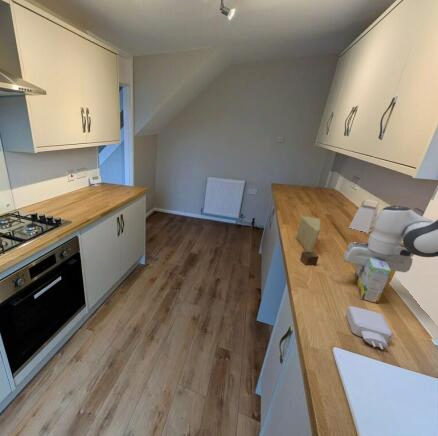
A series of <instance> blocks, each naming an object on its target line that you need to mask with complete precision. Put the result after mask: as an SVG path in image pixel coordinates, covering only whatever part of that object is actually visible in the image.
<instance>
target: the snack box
mask: <svg viewBox="0 0 438 436" xmlns="http://www.w3.org/2000/svg"><path fill="white" fill-rule="evenodd" d="M355 268H356V267H355ZM359 268H360V269H361V270H362V271H363V272H362V274H357V273H356V270H355V271H354V276H355V281H356V285H357V289H358V292H359V296H360V299H361V300H363V301H367V302H370V303H374V304H378V303H379V302H380V298H381V297H382V293H383V292H384V289H385V287H386V284H387V283H388V280H389V278H390V275H391V273H392V272H391V270H390V268H389V266H388V264H387V262H386V260H384V259H379V258H369V260H368V262H367V264H366V266H363V265H361V267H359ZM356 269H357V268H356Z"/></svg>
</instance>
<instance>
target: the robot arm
mask: <svg viewBox="0 0 438 436" xmlns="http://www.w3.org/2000/svg"><path fill="white" fill-rule="evenodd" d="M433 221H434V222H433ZM414 255H415V256H418V257H421V258H436V257H438V218H437V219H436V220H432V219H429V218H426V217H424V216H422V215H420V214H418V213H417V212H415V211H414V210H413V209H412V208H410V207H407V206H402V205H389V206H386V207H383V208H382V209H381V210H380V211H379V212H378V213H377V216H376V220H375V222H374V225H373V231H372V232H370V233H369V235H368V238H367V240H366V242H357V241H353V242H349V243H348V245H347V247H346V250H345V252H344V254H343V260H344V262H346V263H347V264H352V265H354V267H355V268H357V269H356V270H355V271H356V273H357V274H362V272H363V271H362V270H361V269H360V268H359V267H361V265H363V266H366V264H367V262H368V260H369V258H379V259H384V260H386V262H387V264H388V266H389V268H390V270H391V273H392V272H393V271H395V272H400V273H407V272H409V271H410V270H411V267H412V265H413V258H412V257H414Z"/></svg>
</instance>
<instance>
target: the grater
mask: <svg viewBox="0 0 438 436" xmlns="http://www.w3.org/2000/svg"><path fill="white" fill-rule="evenodd" d="M365 201H366V202H371V203H375V204H376V206H372V205H366V204H365ZM379 205H380V202H379V201H377V200H371V199H365V200H362V202H361V204H360V206H359V207H358V209H357V211H356V213H355V215H354V217H353V219H352V221H351V222H350V224H349V227H348V229H349V228H352V229H351V230H353V229H356V230H355V231H357V230H359V231H358V232H360V231H363V232H362V233H364V232H366V233H365V234H367V233H368V234H370V233H372V232H371V231H372V230H373V225H374V222H375V220H376V218H377V216H378V211H379ZM369 232H370V233H369Z"/></svg>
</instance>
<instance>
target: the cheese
mask: <svg viewBox="0 0 438 436" xmlns="http://www.w3.org/2000/svg"><path fill="white" fill-rule="evenodd" d="M321 225H322V219H321V218H318V217H311V216H301V217H300V221H299V225H298V230H297V233H296V237H295V238H296V239H297V241H298V242H299V243H300V244H301V246H302V247H303V249H304V252H313V253H314V250H315V246H316V243H317V241H318V238H319V235H320V232H321Z"/></svg>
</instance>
